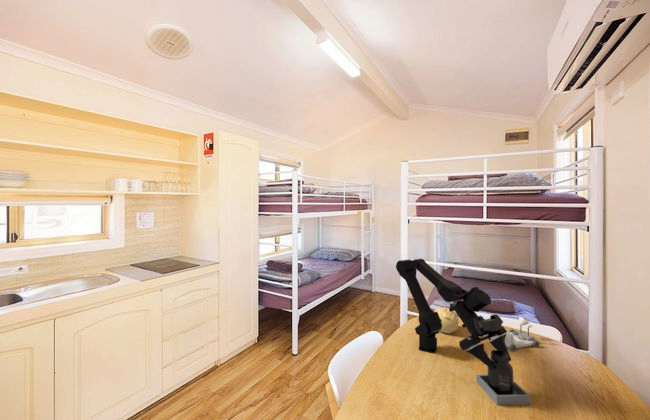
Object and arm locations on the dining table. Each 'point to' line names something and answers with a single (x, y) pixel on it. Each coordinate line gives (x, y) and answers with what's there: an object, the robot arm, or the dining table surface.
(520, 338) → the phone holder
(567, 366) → the dining table surface
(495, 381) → the supplement bottle
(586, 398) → the dining table surface
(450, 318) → the sculpture
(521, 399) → the holder tray
